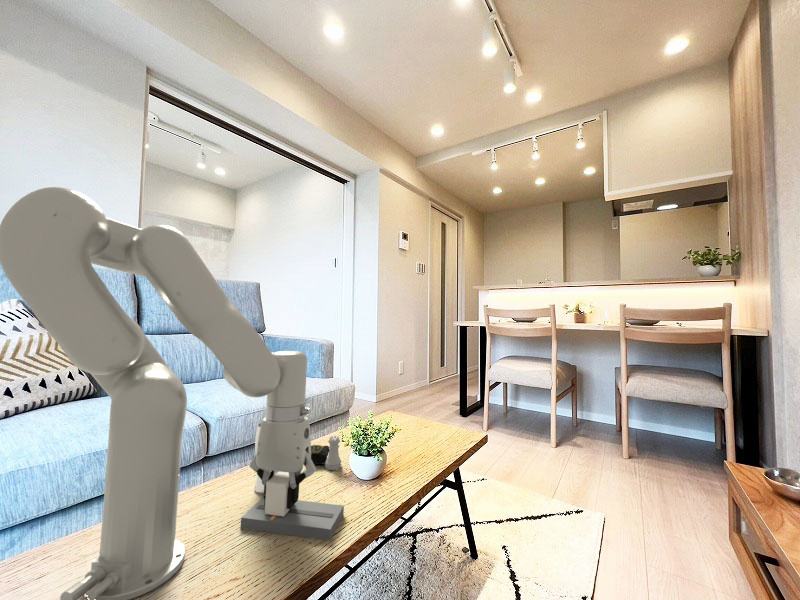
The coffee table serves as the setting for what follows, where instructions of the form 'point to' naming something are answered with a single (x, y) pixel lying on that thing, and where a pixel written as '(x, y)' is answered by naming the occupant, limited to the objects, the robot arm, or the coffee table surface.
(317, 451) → the tape measure
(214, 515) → the coffee table surface
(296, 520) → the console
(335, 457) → the rook chess piece
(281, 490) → the fader knob
